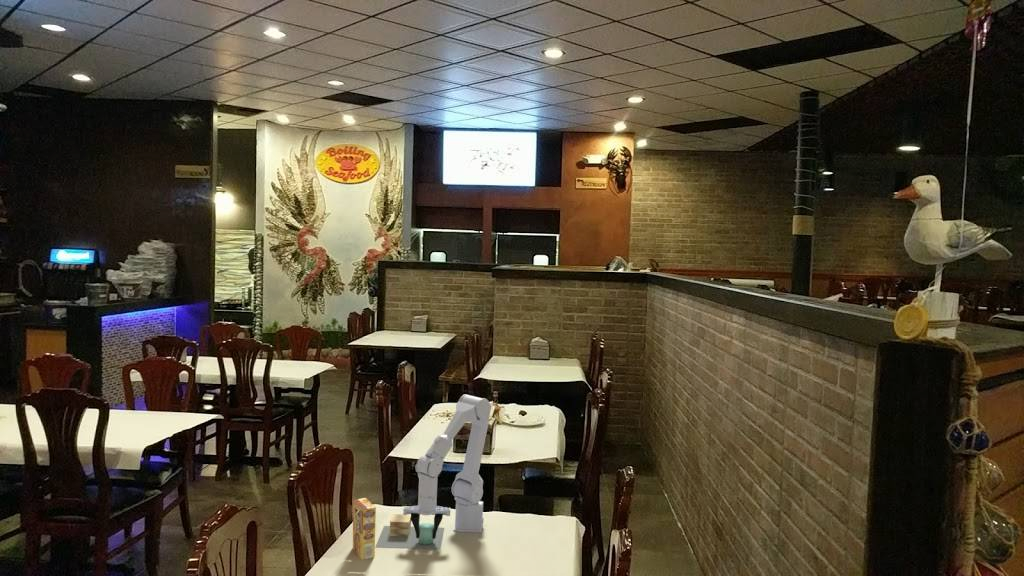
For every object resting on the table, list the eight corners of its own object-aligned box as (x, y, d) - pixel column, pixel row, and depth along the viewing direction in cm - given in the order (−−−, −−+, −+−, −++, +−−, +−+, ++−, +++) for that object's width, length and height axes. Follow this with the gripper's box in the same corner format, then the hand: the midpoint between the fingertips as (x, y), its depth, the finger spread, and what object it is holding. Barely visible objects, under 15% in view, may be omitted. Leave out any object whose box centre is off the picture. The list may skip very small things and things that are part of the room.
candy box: (375, 557, 189) (377, 507, 188) (361, 561, 186) (363, 509, 186) (364, 546, 196) (366, 497, 195) (351, 549, 194) (352, 499, 193)
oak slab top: (411, 521, 209) (411, 514, 209) (408, 529, 203) (408, 522, 203) (392, 521, 209) (393, 514, 209) (389, 528, 203) (390, 521, 203)
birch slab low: (410, 528, 209) (411, 521, 209) (408, 536, 203) (408, 529, 203) (392, 528, 209) (392, 521, 209) (389, 535, 203) (389, 528, 203)
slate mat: (444, 528, 211) (444, 527, 211) (440, 550, 195) (440, 549, 195) (384, 526, 211) (384, 525, 211) (375, 548, 195) (375, 547, 195)
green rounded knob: (434, 538, 202) (434, 523, 202) (432, 544, 197) (433, 529, 197) (419, 538, 202) (420, 522, 202) (417, 544, 197) (418, 528, 197)
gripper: (402, 498, 195) (401, 542, 195) (450, 499, 195) (448, 543, 196) (405, 490, 202) (404, 532, 202) (451, 491, 202) (449, 533, 203)
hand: (426, 537), depth 200 cm, fingers closed on green rounded knob, 5 cm apart
